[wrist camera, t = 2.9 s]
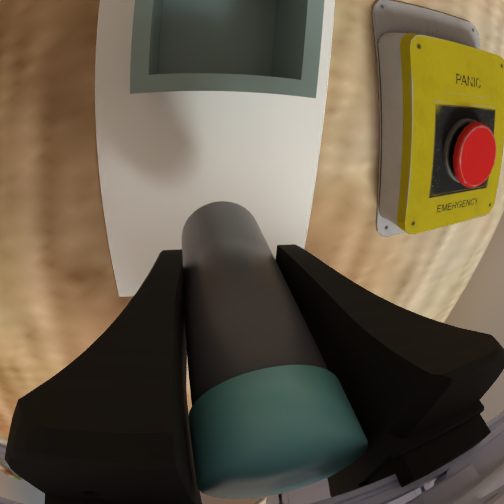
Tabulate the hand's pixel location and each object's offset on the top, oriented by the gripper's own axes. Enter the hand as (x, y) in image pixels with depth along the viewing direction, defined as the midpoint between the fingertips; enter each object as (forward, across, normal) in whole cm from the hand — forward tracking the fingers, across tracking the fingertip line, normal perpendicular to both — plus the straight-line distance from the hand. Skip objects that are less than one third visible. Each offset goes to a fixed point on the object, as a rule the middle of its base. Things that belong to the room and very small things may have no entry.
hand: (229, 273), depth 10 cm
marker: (+2, 0, 0) cm, 2 cm away
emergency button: (+8, -14, -5) cm, 16 cm away
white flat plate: (+7, 0, -3) cm, 7 cm away
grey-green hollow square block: (+7, 0, -9) cm, 11 cm away
